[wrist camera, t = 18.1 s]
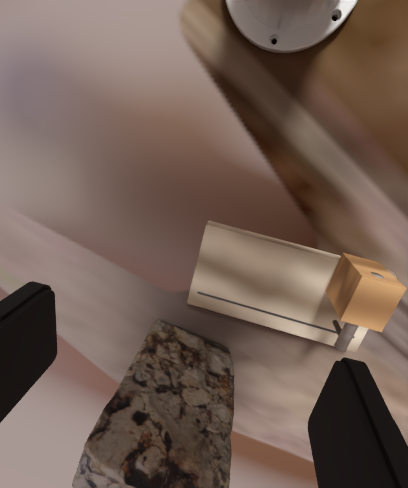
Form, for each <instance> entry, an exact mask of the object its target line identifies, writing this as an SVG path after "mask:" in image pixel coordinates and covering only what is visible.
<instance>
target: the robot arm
mask: <svg viewBox="0 0 408 488" xmlns="http://www.w3.org/2000/svg"><path fill="white" fill-rule="evenodd" d="M357 1H358V0H226V4H227V7H228V11H229V13H230V16H231V18H232V20H233V22H234V24H235V25H236V27H237V28H238V30H239V31H240V32H241V34H242V35H243V36H244V37H245V38H247V39H248V40H249V41H250V42H251V43H252V44H254V45H256V46H258V47H259V48H261V49H263V50H267V51H270V52H274V53H292V52H299V51H302V50H305V49H307V48H310V47H313V46H314V45H316V44H318V43H319V42H321V41H323V40H324V39H326V38H327V37H328V36H329V35H330V34H332V33H333V32H334V31H335V30H336V29H337V28H338V27H339V26H340V25H341V24H342V22H343V21H344V20H345V19H346V18H347V16H348V15H349V14H350V12H351V11H352V9H353V8H354V6H355V5H356V3H357ZM333 16H335V17H336V18H337V20H336V21H333V20H332V17H333ZM272 40H276V41H277V43H276V44H275V45H273V44H272V43H271V41H272ZM56 355H57V335H56V312H55V294H54V292H53V291H51V287H50V286H48V285H45V284H41V283H37V282H29V283H27V284H25V285H24V286H22V287H21V288H19V289H18V290H16V291H15V292H13V293H12V294H10V295H9V296H7V297H6V298H4V299H3V300H1V301H0V422H1V421H2V420H3V419H4V418H5V417H6V416H7V414H8V413H9V412H10V411H11V410H12V409H13V407H14V406H15V405H16V404H17V403H18V402H19V401H20V400H21V398H22V397H23V396H24V395H25V394H26V393H27V392H28V390H29V389H30V388H31V387H32V386H33V385H34V384H35V382H36V381H37V380H38V379H39V378H40V377H41V375H42V374H43V373H44V372H45V371H46V370H47V369H48V367H49V366H50V365H51V364H52V363H53V361H54V359H55V358H56ZM308 433H309V439H310V444H311V449H312V455H313V460H314V465H315V471H316V477H317V482H318V487H319V488H408V446H407V444H406V442H405V440H404V438H403V436H402V434H401V432H400V430H399V428H398V426H397V424H396V423H395V421H394V420H393V418H392V416H391V414H390V412H389V410H388V408H387V406H386V404H385V402H384V399H383V397H382V395H381V393H380V391H379V389H378V387H377V385H376V383H375V381H374V379H373V377H372V375H371V373H370V371H369V369H368V367H367V365H366V364H365V363H364V362H361V361H357V360H353V359H349V358H343V359H341V361H336V362H335V363H334V365H333V367H332V369H331V372H330V374H329V376H328V378H327V380H326V382H325V385H324V387H323V389H322V391H321V393H320V396H319V398H318V400H317V402H316V404H315V406H314V409H313V411H312V413H311V415H310V417H309V421H308Z"/></svg>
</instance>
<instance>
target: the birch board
mask: <svg viewBox="0 0 408 488" xmlns="http://www.w3.org/2000/svg"><path fill="white" fill-rule="evenodd" d="M340 257H341V256H339V255H336V254H332V253H328V252H325V251H321V250H317V249H313V248H310V247H306V246H302V245H299V244H295V243H291V242H288V241H284V240H280V239H277V238H273V237H269V236H266V235H262V234H258V233H254V232H251V231H247V230H243V229H240V228H236V227H232V226H229V225H225V224H221V223H218V222H214V221H210V220H209V221H208V222H207V224H206V227H205V231H204V235H203V239H202V243H201V248H200V251H199V256H198V260H197V264H196V268H195V272H194V276H193V280H192V284H191V288H190V292H189V296H188V300H187V303H188V304H191V305H195V306H198V307H201V308H205V309H208V310H212V311H215V312H219V313H222V314H225V315H229V316H232V317H236V318H239V319H243V320H246V321H249V322H253V323H256V324H260V325H263V326H267V327H270V328H273V329H277V330H280V331H284V332H287V333H291V334H294V335H297V336H301V337H304V338H308V339H311V340H314V341H318V342H321V343H325V344H328V345H332V346H334V344H335V342H336V340H337V338H338V334H337V332H336V330H335V327H334V325H333V323H332V321H333V320H337V321H338V323H339V325H340V327H341V329H342V328H343V326H344V324H345V322H344V321H341V320H340V319H339V317H338V315H337V313H336V311H335V309H334V307H333V305H332V303H331V301H330V299H329V297H328V295H327V293H326V291H325V290H326V288H327V286H328V284H329V282H330V279H331V277H332V275H333V273H334V271H335V268H336V266H337V264H338V262H339V259H340ZM385 269H386V270H387V271H388V272H389V273H390V274H392V275H393V276H394V277H395V278H396V277H397V276H396V275H395V274H394V273H393V272H392V271H391V270H389V269H387V268H385ZM368 329H369V328H365V327H362V326H359V327H358V328H357V330H356V332H355V334H354V336H353V338H352V340H351V342H350V344H349V345H348V347H347V349H346V350H349V351H352V352H356V350H357V349H358V347H359V345H360V343H361V341H362V340H363V338H364V336H365V334H366V332H367V330H368Z"/></svg>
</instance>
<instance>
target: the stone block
mask: <svg viewBox="0 0 408 488" xmlns="http://www.w3.org/2000/svg"><path fill="white" fill-rule="evenodd" d="M233 416H234V371H233V363H232V361H231V357H230V352H229V351H228V349H227V348H226V347H224V346H222V345H220V344H217V343H214V342H212V341H209V340H207V339H204V338H202V337H200V336H198V335H195V334H193V333H190V332H188V331H185V330H183V329H181V328H179V327H176V326H173V325H170V324H167V323H165V322H163V321H161V320H157V321H156V322H155V323H154V325H153V327H152V328H151V330H150V332H149V334H148V335H147V337H146V339H145V340H144V343H143V344H142V346H141V348H140V350H139V351H138V353H137V355H136V357H135V358H134V360H133V362H132V364H131V366H130V367H129V369H128V371H127V373H126V375H125V377H124V378H123V380H122V382H121V384H120V385H119V387H118V389H117V391H116V392H115V395H114V396H113V398H112V399H111V400H110V402H109V403H108V404H107V405H106V407H105V408H104V410H103V412H102V414H101V415H100V417H99V419H98V421H97V423H96V425H95V427H94V429H93V430H92V432H91V433H90V435H89V437H88V439H87V441H86V443H85V446H84V450H83V454H82V456H81V459H80V462H79V465H78V468H77V472H76V474H75V476H74V479H73V484H72V486H73V488H229V481H230V465H231V442H230V435H231V431H232V422H233Z"/></svg>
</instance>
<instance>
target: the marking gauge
mask: <svg viewBox="0 0 408 488" xmlns="http://www.w3.org/2000/svg"><path fill="white" fill-rule="evenodd" d="M405 290H406V288H405V287H404V286H403V285H402V284H401V283H400V282H399V281H398V280H397V279H396V278H395V277H394V276H393V275H392V274H390V273H389V272H388V271H387V270H386V269H385V268H384V267H383V266H382V265H381V264H380V263H379V262H375V261H372V260H368V259H364V258H361V257H357V256H353V255H350V254H346V253H342V255H341V257H340V259H339V262H338V264H337V266H336V268H335V271H334V273H333V275H332V277H331V279H330V282H329V284H328V286H327V288H326V290H325V291H326V293H327V295H328V297H329V299H330V301H331V303H332V305H333V307H334V309H335V311H336V313H337V315H338V317H339V319H340V320H341V321H344V322H345V324H344V326H343V328H342V329H341V327H340V325H339V323H338V321H337V320H333V321H332V323H333V325H334V327H335V330H336V332H337V334H338V338H337V340H336V342H335V344H334V346H335V348H336V349H337V350H339V351H342V352H345V351H346V349H347V347H348V345H349V344H350V342H351V340H352V338H353V336H354V334H355V332H356V330H357V328H358V327H359V326H362V327H365V328H369V329H372V330H376V331H379V332H382V330H383V328H384V327H385V325H386V323H387V321H388V320H389V318H390V316H391V315H392V313H393V311H394V309H395V308H396V306H397V304H398V302H399V301H400V299H401V297H402V295H403V294H404V292H405Z"/></svg>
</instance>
